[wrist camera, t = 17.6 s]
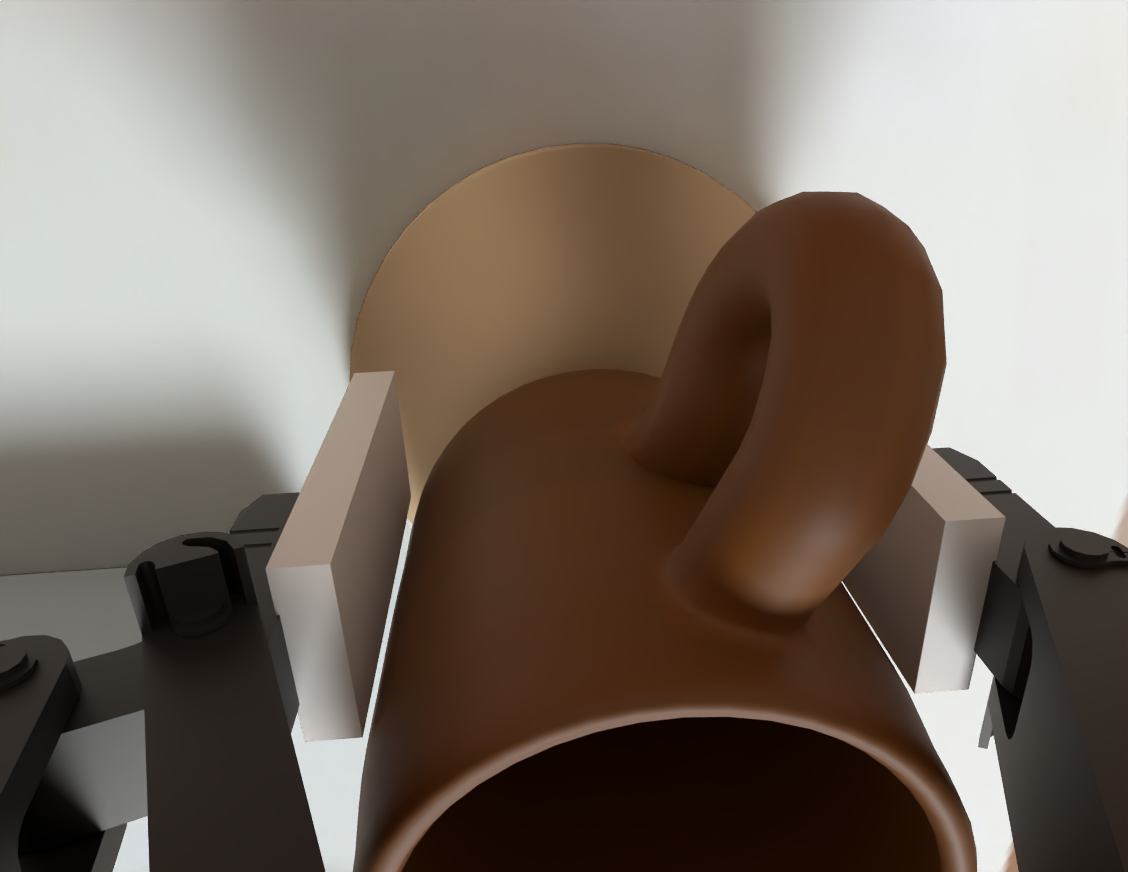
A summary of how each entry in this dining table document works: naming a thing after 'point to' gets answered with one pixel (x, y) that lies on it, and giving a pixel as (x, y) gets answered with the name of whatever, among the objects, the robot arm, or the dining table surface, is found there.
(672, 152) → the dining table surface
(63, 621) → the u-shaped frame
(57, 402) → the dining table surface
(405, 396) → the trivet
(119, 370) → the dining table surface
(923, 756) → the mug
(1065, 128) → the dining table surface
